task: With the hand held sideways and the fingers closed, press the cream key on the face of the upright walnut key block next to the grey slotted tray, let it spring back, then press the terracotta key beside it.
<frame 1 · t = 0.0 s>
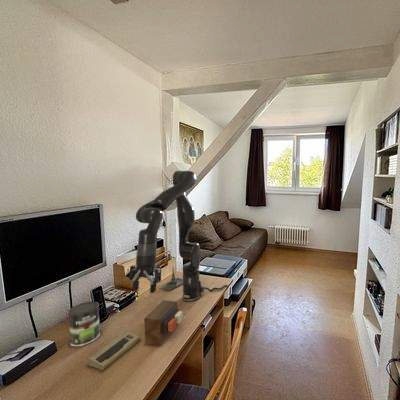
hand: (143, 291, 94), 22 cm above the table, tool pointing down, fingers open, 8 cm apart
eiffel tower figurine: (173, 284, 146), on the table
calculator: (106, 307, 120), on the table
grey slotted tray: (115, 353, 89), on the table
key block: (162, 334, 100), on the table
terracotta key: (172, 324, 96), point 7 cm above the table, slide at -0.1 cm
cream key: (178, 317, 101), point 7 cm above the table, slide at -0.1 cm
coffee can: (85, 338, 97), on the table
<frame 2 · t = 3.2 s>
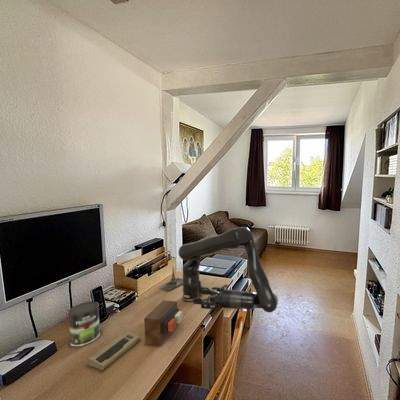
hand: (197, 296, 99), 18 cm above the table, tool horizontal, fingers open, 7 cm apart
nothing on the table moved.
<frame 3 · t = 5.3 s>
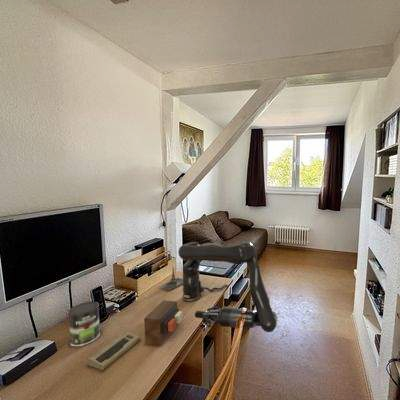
hand: (195, 314, 100), 9 cm above the table, tool horizontal, fingers closed
nothing on the table moved.
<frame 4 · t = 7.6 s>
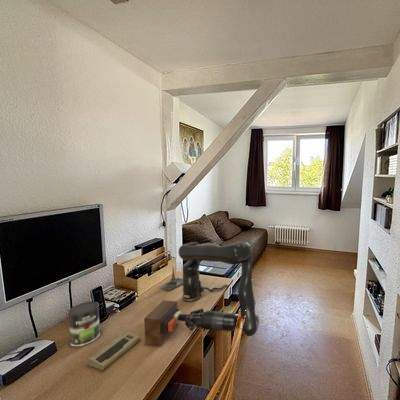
hand: (179, 317, 101), 7 cm above the table, tool horizontal, fingers closed
cream key: (176, 317, 101), point 7 cm above the table, slide at 0.7 cm, touching gripper
everything else where it was.
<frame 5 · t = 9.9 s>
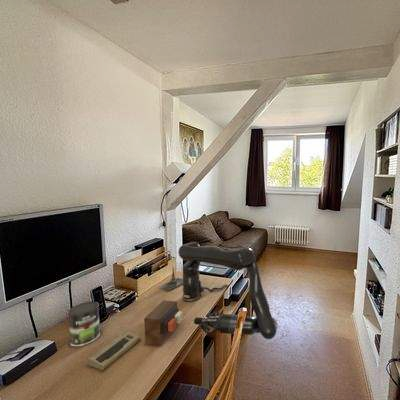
hand: (194, 320, 99), 7 cm above the table, tool horizontal, fingers closed
cream key: (178, 317, 101), point 7 cm above the table, slide at -0.1 cm
everything else where it was.
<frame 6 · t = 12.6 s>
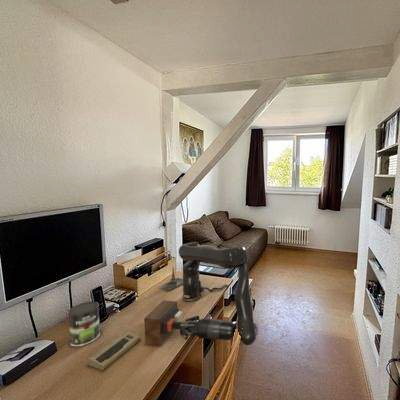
hand: (173, 325, 96), 7 cm above the table, tool horizontal, fingers closed
terracotta key: (171, 324, 96), point 7 cm above the table, slide at 0.4 cm, touching gripper
everything else where it was.
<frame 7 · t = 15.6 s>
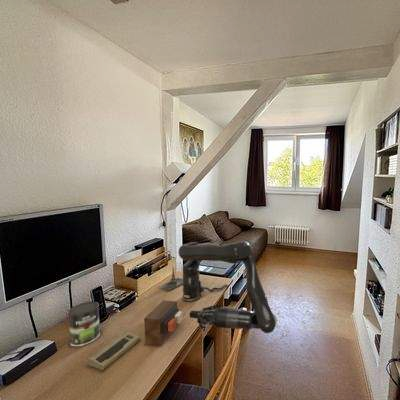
hand: (190, 313, 94), 13 cm above the table, tool horizontal, fingers closed
terracotta key: (172, 324, 96), point 7 cm above the table, slide at -0.1 cm
everything else where it was.
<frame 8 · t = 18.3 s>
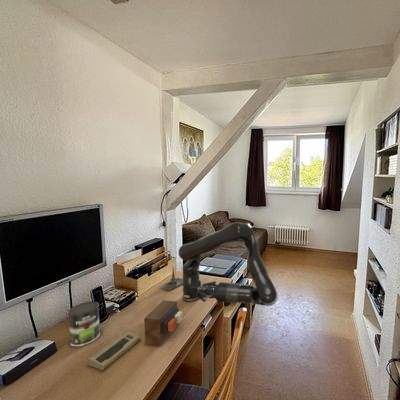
hand: (190, 289, 93), 24 cm above the table, tool horizontal, fingers closed
nothing on the table moved.
at the end: cream key pulled out 1.2 cm at the most during the clip and back in by the end; terracotta key pulled out 1.2 cm at the most during the clip and back in by the end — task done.
